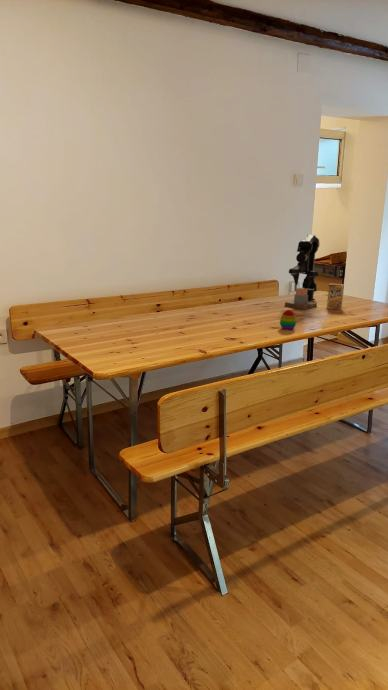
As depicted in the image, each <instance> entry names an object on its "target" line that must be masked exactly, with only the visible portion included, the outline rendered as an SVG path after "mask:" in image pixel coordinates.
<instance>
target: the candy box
mask: <svg viewBox="0 0 388 690" xmlns="http://www.w3.org/2000/svg"><path fill="white" fill-rule="evenodd" d="M344 287H345V284H344V283H329V284H328V290H327V300H326V301H327V303H326V309H332V310H340V311H341V310H342V307H343V299H344V290H345V289H344Z"/></svg>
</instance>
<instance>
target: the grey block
mask: <svg viewBox="0 0 388 690" xmlns="http://www.w3.org/2000/svg"><path fill="white" fill-rule="evenodd" d="M293 301H294V303H299V304H305V303H308V302H309V301H308V295H305V296H300V295H296V294H294V300H293Z"/></svg>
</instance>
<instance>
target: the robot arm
mask: <svg viewBox="0 0 388 690" xmlns="http://www.w3.org/2000/svg"><path fill="white" fill-rule="evenodd" d="M297 245H298V246H297V250H296V252H297V255H296V257H295V259H296V261H297V265H295V266H294V267H292V268H289V269H288V274H290V276H292V278H293V280H294V285H295V286H298V283H299V277H300V274H303V275H306V276H305V277H304V279H303V281H302V285H301V286H302V287H301V288H306V289H308V290H307V295H308V302H312V301H316V298H314V295H315V294H314V293H315V292H317V291H318V290H317V289H318V288H317V283H316V277H318V276H319V273H318V271H316V270H315V261H316V260H315V259H316V253H317V252H318V251H319V248H320V239H319V238H318V237H316V234H307V235H306V237H305V238H304V239H300V241H298V244H297Z"/></svg>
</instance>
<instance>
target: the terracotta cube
mask: <svg viewBox="0 0 388 690" xmlns="http://www.w3.org/2000/svg"><path fill="white" fill-rule="evenodd" d="M307 290H308V289H306V288H302V287H298V288H297V287H296V289H295V295H300V296H305V295H307Z"/></svg>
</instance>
